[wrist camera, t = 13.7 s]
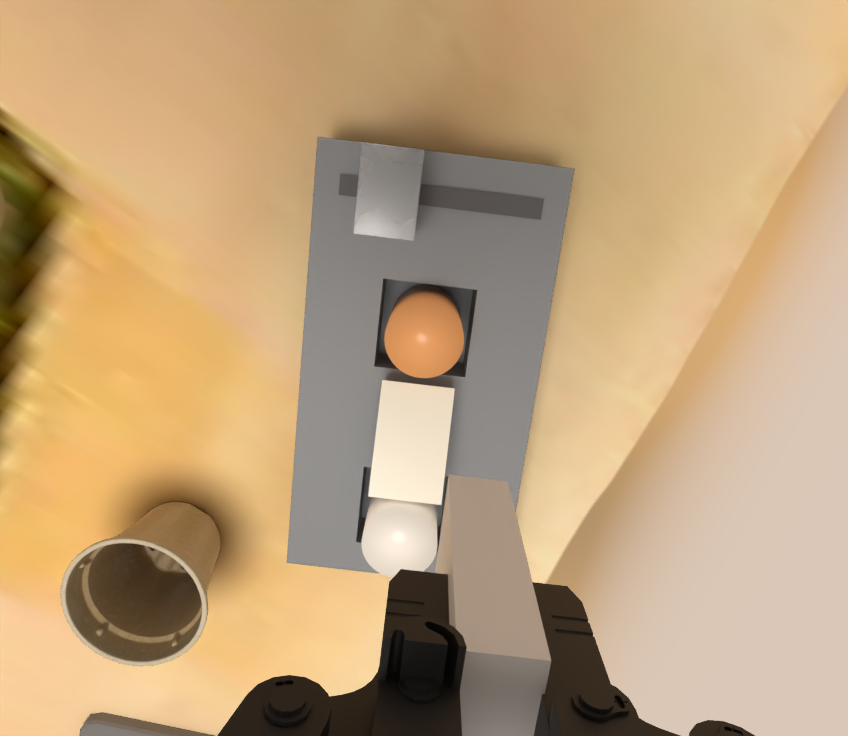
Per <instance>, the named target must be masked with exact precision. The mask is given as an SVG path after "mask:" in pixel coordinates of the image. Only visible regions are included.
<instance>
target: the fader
mask: <svg viewBox="0 0 848 736" xmlns="http://www.w3.org/2000/svg"><path fill="white" fill-rule="evenodd" d="M424 152H425V150H424V149H416V148H408V147H399V146H391V145H383V144H375V143H367V142H362V145H361V156H360V168H359V179H358V190H357V201H356V212H355V223H354V234H362V235H371V236H379V237H387V238H395V239H403V240H411V241H414V240H415V231H416V222H417V213H418V204H419V196H420V187H421V178H422V169H423V161H424Z"/></svg>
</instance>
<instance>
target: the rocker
mask: <svg viewBox="0 0 848 736" xmlns="http://www.w3.org/2000/svg"><path fill="white" fill-rule="evenodd" d="M454 392H455V389H454V388H446V387H437V386H429V385H420V384H412V383H404V382H395V381H387V380H382V386H381V394H380V402H379V411H378V419H377V427H376V435H375V444H374V452H373V460H372V468H371V476H370V485H369V493H368V497H376V498H385V499H394V500H402V501H411V502H419V503H428V504H437V505H441V503H442V495H443V486H444V478H445V469H446V460H447V452H448V443H449V435H450V426H451V418H452V409H453V400H454Z"/></svg>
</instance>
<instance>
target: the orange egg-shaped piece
mask: <svg viewBox="0 0 848 736" xmlns="http://www.w3.org/2000/svg"><path fill="white" fill-rule="evenodd" d="M384 342H385V348H386V352H387V354H388V356H389V358H390V360H391V361H392V363H393V364H394V365H395V366H396V367H397V368H398V369H399V370H401V371H402V372H404V373H405V374H408V375H410V376H413V377H417V378H432V377H436V376H439V375H441V374H443V373H445V372H447V371H448V370H449V369H451V368H452V367H453V366H454V365H455V363H456V362H457V361H458V359H459V357H460V355H461V353H462V350H463V346H464V333H463V328H462V323H461V317H460V312H459V308H458V306H457V304H456V302H455V300H454V299H453V298H452V297H451V295H450V294H448V293H447V292H446V291H444V290H443V289H441V288H439V287H436V286H431V285H420V286H416V287H413V288H410V289H408V290H407V291H405V292H404V293H403V294H402V295H401V296H400V297H399V298H398V299H397V301H396V302H395V304H394V306H393V309H392V312H391V315H390V318H389V321H388V324H387V327H386V330H385V337H384Z"/></svg>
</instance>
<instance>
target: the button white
mask: <svg viewBox="0 0 848 736" xmlns="http://www.w3.org/2000/svg"><path fill="white" fill-rule="evenodd" d="M361 546H362V552H363V555H364V557H365V559H366V561H367V562H368V564H369V565H370V566H371V567H372V568H373V569H374V570H376V571H377V572H379V573H380V574H382V575H385V576H388V577H392V578H393V577H394V576H395V575H396V574H397V573H398V572H399V571H400V569H405V570H414V571H422V572H423V571H424V570H425V569H427V568H428V567H429V566H430V564H431V563H432V562H433V560H434V558H435V555H436V552H437V504H428V503H419V502H411V501H402V500H394V499H385V498H376V497H370V502H369V507H368V512H367V516H366V521H365V526H364V531H363V536H362V543H361Z"/></svg>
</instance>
